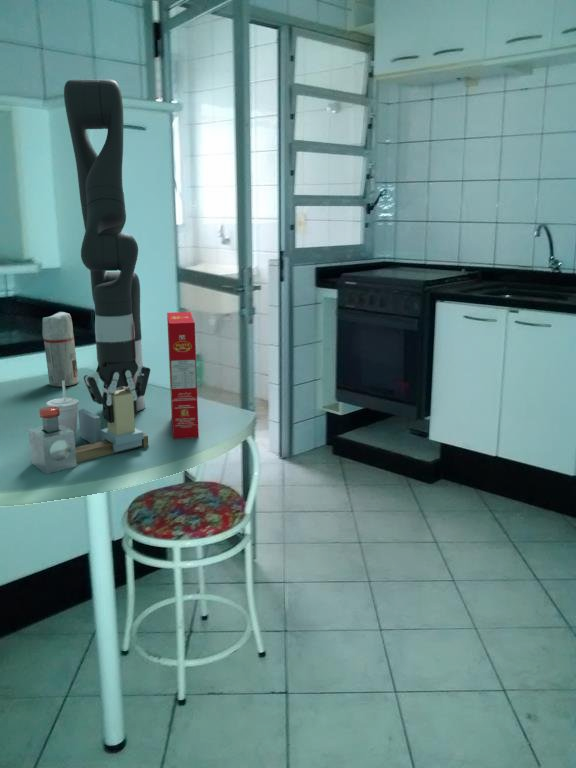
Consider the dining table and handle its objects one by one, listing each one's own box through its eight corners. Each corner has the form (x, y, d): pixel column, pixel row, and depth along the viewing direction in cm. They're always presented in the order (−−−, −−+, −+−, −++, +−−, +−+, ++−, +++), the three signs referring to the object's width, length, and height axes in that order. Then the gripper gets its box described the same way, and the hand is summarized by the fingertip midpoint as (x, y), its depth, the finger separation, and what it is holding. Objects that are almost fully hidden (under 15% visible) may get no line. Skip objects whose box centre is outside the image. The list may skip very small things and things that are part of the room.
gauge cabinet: (32, 463, 133) (28, 429, 131) (62, 456, 137) (59, 422, 135) (46, 474, 128) (43, 438, 126) (77, 466, 132) (74, 432, 130)
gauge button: (39, 444, 132) (36, 408, 130) (58, 440, 134) (54, 405, 132) (47, 449, 129) (43, 413, 127) (65, 445, 131) (62, 409, 129)
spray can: (67, 388, 187) (61, 315, 182) (41, 386, 189) (35, 314, 184) (85, 381, 195) (79, 311, 190) (59, 379, 197) (53, 310, 192)
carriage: (80, 436, 147) (76, 385, 145) (110, 429, 152) (107, 379, 149) (112, 455, 136) (108, 400, 133) (143, 447, 141) (140, 394, 138)
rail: (64, 457, 136) (63, 446, 136) (136, 440, 146) (136, 429, 146) (74, 464, 133) (73, 453, 132) (148, 446, 143) (147, 435, 142)
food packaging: (171, 418, 161) (167, 312, 155) (194, 417, 162) (190, 312, 156) (173, 438, 147) (168, 323, 141) (198, 437, 148) (194, 322, 142)
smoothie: (88, 446, 143) (83, 380, 139) (60, 454, 138) (54, 387, 135) (71, 439, 147) (66, 375, 143) (44, 447, 142) (37, 381, 139)
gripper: (138, 330, 143) (142, 409, 147) (72, 338, 134) (79, 422, 138) (156, 335, 137) (160, 417, 142) (89, 344, 128) (96, 431, 133)
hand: (120, 419), depth 140 cm, fingers closed on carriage, 4 cm apart
